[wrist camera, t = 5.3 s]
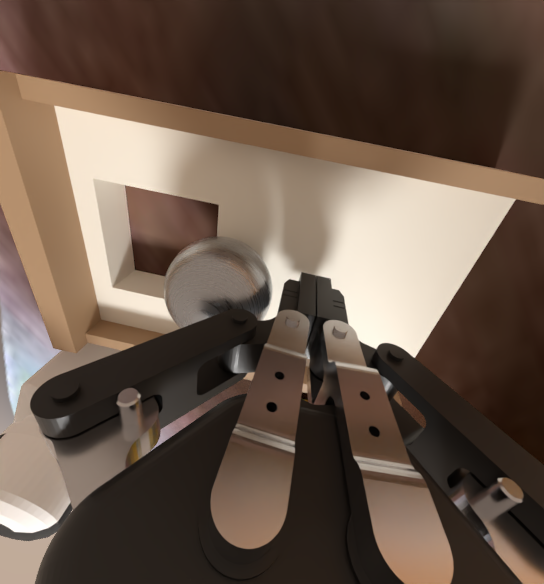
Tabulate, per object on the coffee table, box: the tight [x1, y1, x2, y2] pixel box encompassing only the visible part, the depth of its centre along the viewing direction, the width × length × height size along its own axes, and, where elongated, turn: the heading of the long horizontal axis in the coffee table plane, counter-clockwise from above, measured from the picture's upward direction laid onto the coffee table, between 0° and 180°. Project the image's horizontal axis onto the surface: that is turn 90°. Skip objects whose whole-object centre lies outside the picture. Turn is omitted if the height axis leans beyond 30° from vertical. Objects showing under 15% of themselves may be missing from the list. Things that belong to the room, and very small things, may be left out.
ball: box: [164, 237, 273, 328], centre depth 13 cm, size 5×5×5 cm
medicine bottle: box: [0, 343, 122, 541], centre depth 19 cm, size 7×7×12 cm
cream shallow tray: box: [0, 70, 544, 406], centre depth 15 cm, size 22×14×5 cm, turn 81°
